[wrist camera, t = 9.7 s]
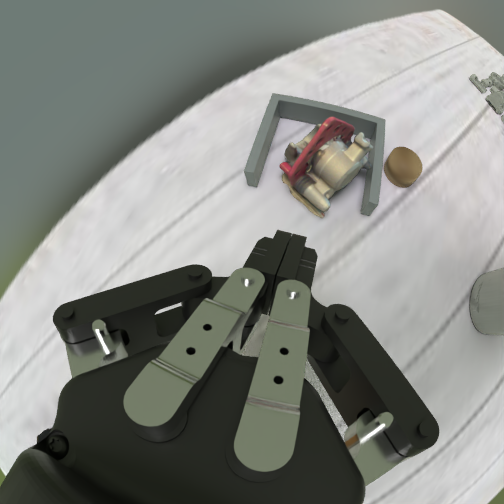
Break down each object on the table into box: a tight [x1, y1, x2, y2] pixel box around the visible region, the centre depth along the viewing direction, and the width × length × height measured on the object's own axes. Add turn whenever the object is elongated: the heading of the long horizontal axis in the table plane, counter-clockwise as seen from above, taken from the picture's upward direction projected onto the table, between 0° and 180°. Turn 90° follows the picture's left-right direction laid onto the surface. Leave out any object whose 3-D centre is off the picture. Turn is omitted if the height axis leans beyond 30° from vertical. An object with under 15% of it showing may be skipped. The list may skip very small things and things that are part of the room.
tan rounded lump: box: [384, 147, 422, 188], centre depth 33 cm, size 5×5×3 cm
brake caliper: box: [280, 117, 373, 218], centre depth 32 cm, size 11×11×12 cm
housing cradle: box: [244, 93, 385, 216], centre depth 34 cm, size 16×14×4 cm
